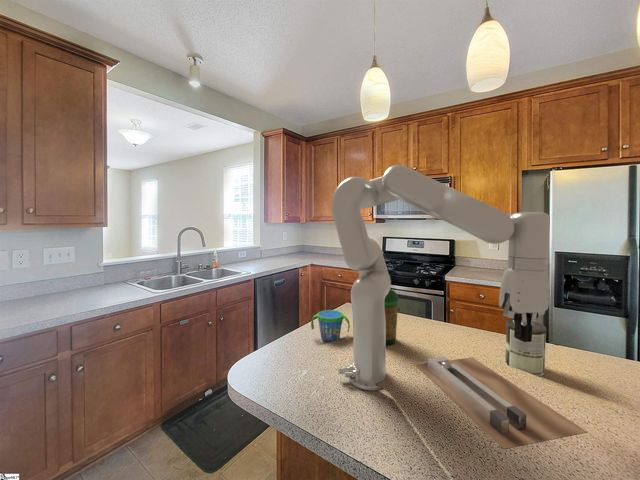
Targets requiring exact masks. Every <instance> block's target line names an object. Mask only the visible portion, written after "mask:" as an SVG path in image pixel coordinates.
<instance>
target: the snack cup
mask: <svg viewBox="0 0 640 480" xmlns="http://www.w3.org/2000/svg"><path fill="white" fill-rule="evenodd" d="M315 318H317V320H318V328H319V332H320V338H321V339H322V340H323V341H324V342H335V341H338V340H340V337H341V331H342V325H343V320H345V321H346V323H347V333H349V332H350V326H351V325H350V320H349V319H348V317H347V316H346V315H345V314H344V313H343V312H341V311H338V310H334V309H327V310H320V311H318V312H317V313H316V314H315V315H313V317H312V319H311V322H310V328H311V330H314V329H315V326H314V319H315Z"/></svg>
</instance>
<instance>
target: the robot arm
mask: <svg viewBox="0 0 640 480" xmlns="http://www.w3.org/2000/svg"><path fill="white" fill-rule="evenodd" d="M383 173H384V174H383V175H382V176H380V177H376V178H373V179H369V180H368V179H366V178H364V177H361V176H351V177H347V178H346V179H344V180H343V181H342V182H340V184H338V186H337V187H336V189H335V190H334V192H333V195H332V199H331V206H330V207H331V215H332V219H333V222H334V225H335V229H336V232H337V236H338V240H339V244H340V248H341V251H342V254H343V258H344V261H345V264H346V265H347V266H348V268H349V269H350V270H352V271H355V272H358V275H359V277H358V278H357V279H355V281H354V282H353V284H352V287H351V290H350V302H351V309H352V330H353V332H352V337H353V338H352V341H353V344H352V345H353V347H352V350H353V353H352V354H353V357H352V358H353V360H352V361H351V360H350V364H349V365H347V366H339V367H337V372H338V373H337V374H338V375H344V378H348V380H349V382H350V384H352V385H353V386H354V387H356V388H358V389H361V390H364V391H380V390H384V387H382V386H380V385H379V384H377V383H380V382H383V381H384V380H385V379H386V376H387V375H386V369H387V367H386V366H387V362H386V361H387V360H386V359H387V351H386V347H387V346H386V319H385V306H384V300H385V297H386V296H387V294H388V293H389V291H390V289H391V288H392V287H391V285H392V280H391V281H390V277H391V276H390V277H389V275H390V274H389V271H388V267H387V264H386V261H385V257H384V254H383V251H382V250H383V249H382V248H381V246H380V244H379V243H378V242H377V241H376V240H375V239H373V238H372V237H371V238H370V237H369V233H368V231H367V228H366V227H367V226H366V224H365V221H364V219H363V216H362V214H361V208H362V209H366V208H367V209H368V208H373V207H375V206H376V207H377V206H380V205H385V204H388V203H391V202H395V201H398V200H400V201H402V202H404V203H406V204H408V205H409V206H411V207H414V208H415V209H417V210H419V211H421V212H423V213H425V214H426V215H429V216H431V217H433V218H435V219H438V220H441V221H444V222H446V223H448V224H450V225H452V226H454V227H456V228H458V229H460V230H462V231H464V232H466V233H468V234H470V235H472V236H474V237H475V238H478V239H479V240H481V241H483V242H485V243H487V244H493V245H497V244H503V243H504V242H507V241H508V250H507V251H508V255H507V268H506V269H504V272H503V274H502V278H501V282H500V289H499V295H498V306H499V308H501V309H503V313H502V315H503V317H507V318H510V319H513V322H515V331H514V337H515V338H517V339H519V340H521V341H523V342H531V341H532V325H534V324H535V322H537V319H538V317H540V316H543V315H545V313H546V311H547V310H548V309H549V305H550V278H549V272H548V263H549V262H548V257H549V243H550V242H549V241H550V228H551V226H550V225H551V217H550V215H549V214H548V213H546V212H543V211H540V212H539V211H524V212H523V211H521V212H520V211H518V212H515V213H507V212H504V211H503V210H500V209H499V208H496V207H494V206H492V205H490V204H488V203H485V202H484V201H481V200H479V199H478V198H474V197H473V196H470V195H468V194H466V193H463V192H461V191H459V190H457V189H456V188H453V187H450V186H448V185H446V184H445V183H442V182H439V181H438V180H436V179H433V178H431V177H429V176H427V175H425V174H423V173H421V172H419V171H416V170H414V169H413V168H410V167H408V166H405V165H402V164H394V165H392V166H390V167H388V168H387V169H386V170H385V171H384V172H383Z"/></svg>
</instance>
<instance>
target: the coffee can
mask: <svg viewBox="0 0 640 480" xmlns="http://www.w3.org/2000/svg"><path fill="white" fill-rule="evenodd" d="M505 326H506V327H505V328H506V333H505V336H506V338H505V362H504V363H505V365H506V366H508V367H511V368H514V369H517V370H520V371H523V372H525V373H528V374H531V375H534V376H536V377H542V376H544V375H545V373H546V370H545V367H546V341H547V339H546V337H547V331H548V329H547V326H545V325H544V324H542V323H539V322H537V321H535V324H534V325H532V341H531V342H523V341H521V340H519V339H517V338H515V337H514V331H515V322H513V319H512V318H510V319H508V320H506V322H505Z"/></svg>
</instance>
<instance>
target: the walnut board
mask: <svg viewBox="0 0 640 480" xmlns="http://www.w3.org/2000/svg"><path fill="white" fill-rule="evenodd" d="M448 360H449V363H450V364H456V365H457V366H459V367H460V368H461V369H463V370H464V371H465V372H467V373H468V374H470V375H471V376H472V377H474V378H475V379H476V380H478V381H479V382H481V383H482V384H483V385H485V386H486V387H488V388H489V389H490V390H492V391H493V392H494V393H496V394H497V395H499V396H500V397H501V398H503V399H504V400H505V401H507V402H508V403H510V404H511V405H512V406H515V407H517V408H518V409H520V410H521V411H522V412H524V413H525V414H526V429H521V430H518V429H516V428H515V427H514V426H513V425H511V424H510V423H509V433H505V434H500V433H499V432H498V431H496V430H495V429H494V428H493V427H492V426H491V425H490V424H489V423H488V422H487V421H486V420H485V419H484V418H482V417H481V416H480V415H479V414H478V413H477V412H476V411H475V410H473V409H472V408H471V407H470V406H469V405H468V404H467V403H466V402H465V401H463V400H462V399H461V398H460V397H459V396H458V395H457V394H456V393H454V392H453V391H452V390H451V389H450V388H449V387H448V386H447V385H445V384H444V383H443V382H442V381H441V380H440V379H439V378H438V377H437V376H435V375H434V374H433V373H432V372H431V371H430V370H429V369H428V362H426V363H417V364H415V367H416V368H417V369H419V370H420V371H421V373H423V374H424V375H425V376H426V377H427V378H428V379H429V380H430V381H432V383H434V385H435V386H437V387H438V388H439V390H441V391H442V392H443V393H444V394H445V395H446V396H447V397H448V398H449V399H450V400H451V401H453V402H454V403H455V404H456V405H457V406H458V408H460V409H461V410H462V411H463V412H464V413H465V414H466V415H467V416H468V417H469V418H471V419H472V421H473V422H475V423H476V424H477V425H478V426H479V427H480V428H481V429H482V430H483V431H484V432H485V433H486V434H488V435H489V437H490V438H491V439H493V440H494V441H495V443H497V445H499V447H501V448H502V449H504V450H507V449H511V448H517V447H521V446H526V445H531V444H536V443H541V442H547V441H552V440H557V439H561V438H567V437H571V436H577V435H581V434H586V433H588V431H587V430H585V429H584V428H582V427H580V426H579V425H577V424H576V423H574V422H573V421H572V420H570V419H568V418H567V417H565V416H564V415H562V414H561V413H559V412H557V411H556V410H554V409H553V408H551V407H549V405H547V404H545V403H543V402H542V401H541V400H539V399H538V398H536V397H534V396H532V395H531V394H530V393H528V392H527V391H525V390H524V389H522V388H520V387H519V386H517V385H516V384H514V383H512V381H510V380H508V379H506V377H503V376H502V375H501V374H499V373H497V372H496V371H494V369H493V370H492V369H491V368H490V367H488V366H486V365H485V364H483V363H482V362H480V361H479V360H477V359H476V358H474V357H467V358H458V359H448Z"/></svg>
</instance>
